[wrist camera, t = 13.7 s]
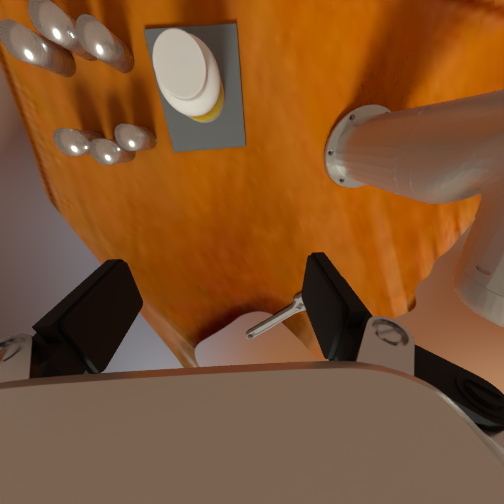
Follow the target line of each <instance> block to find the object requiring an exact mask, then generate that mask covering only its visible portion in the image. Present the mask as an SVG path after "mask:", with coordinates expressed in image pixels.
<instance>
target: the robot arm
mask: <svg viewBox="0 0 504 504" xmlns="http://www.w3.org/2000/svg"><path fill="white" fill-rule="evenodd" d="M350 117H351V119H349V118H350ZM329 151H330V153H329V154H328V152H329ZM324 164H325V169H326V171H327V173H328V175H329V177H330V178H331V179H332V180H333V181H334V182H335V183H337V184H339V185H341V186H344V187H349V188H355V187H360V186H364V185H366V184H367V185H371V186H374V187H377V188H380V189H383V190H386V191H389V192H392V193H395V194H398V195H401V196H404V197H407V198H410V199H413V200H417V201H420V202H424V203H431V204H442V203H450V202H455V201H459V200H463V199H467V198H470V197H473V196H476V195H478V194H481V193H482V195H481V201H480V204H479V207H478V210H477V212H476V215H475V220H474V223H473V225H472V228H471V230H470V232H469V235H468V237H467V240H466V242H465V244H464V247H463V250H462V252H461V254H460V257H459V260H458V262H457V265H456V268H455V271H454V276H453V283H454V288H455V291H456V293H457V294H458V296H459V297H460V299H461V300H462V301H463V302H464V303H465V304H466V305H467V306H468V307H469V308H471V309H472V310H473V311H474V312H476V313H477V314H479V315H481V316H482V317H484V318H486V319H488V320H489V321H491V322H493V323H495V324H497V325H499V326H502V327H504V89H502V90H498V91H494V92H489V93H485V94H480V95H475V96H470V97H465V98H460V99H455V100H451V101H446V102H441V103H436V104H430V105H425V106H420V107H415V108H410V109H405V110H400V111H394V112H391V111H390V110H389V109H388V108H386V107H384V106H381V105H376V104H370V105H365V106H361V107H358V108H356V109H354V110H352V111H350V112H349V113H348V114H346V115H345V116H344V117H343V118H342V119H341V120H340V121H339V122H338V123H337V124H336V125H335V127H334V128H333V130H332V131H331V133H330V135H329V138H328V140H327V143H326V146H325V152H324ZM340 179H341V180H340ZM301 297H302V301H303V304H304V306H305V309H306V311H307V314H308V317H309V319H310V322H311V324H312V327H313V329H314V332H315V335H316V337H317V340H318V342H319V345H320V348H321V350H322V353H323V355H324V357H325V359H329V361H315V362H288V363H270V364H269V363H268V364H251V365H231V366H213V367H196V368H179V369H162V370H146V371H130V372H113V373H101V372H103V371H104V370H105V369H106V367H107V365H108V364H109V362H110V360H111V359H112V357H113V355H114V353H115V352H116V350H117V349H118V347H119V345H120V343H121V342H122V340H123V338H124V337H125V335H126V333H127V332H128V330H129V328H130V327H131V325H132V323H133V322H134V320H135V318H136V316H137V315H138V313H139V311H140V310H141V308H142V306H143V300H142V298H141V295H140V293H139V290H138V288H137V286H136V283H135V281H134V278H133V276H132V274H131V271H130V269H129V266H128V264H127V263H126V262H124V261H123V260H121V259H112V260H107V261H105V262H104V263H103V264H102V265H101V266H100V267H99V268H98V269H97V270H95V271H94V272H93V273H92V274H91V275H90V276H89V277H88V278H86V279H85V280H84V281H83V282H82V283H81V284H80V285H79V286H77V287H76V288H75V289H74V290H73V291H72V292H71V293H70V294H68V295H67V296H66V297H65V298H64V299H63V300H62V301H61V302H60V303H58V304H57V305H56V306H55V307H54V308H53V309H52V310H51V311H50V312H48V313H47V314H46V315H45V316H44V317H43V318H42V319H40V320H39V321H38V322H37V323H36V324H35V325H34V326H33V327H32V328H33V329H34V330H35V331H36V332H37V333H36V334H35V335H34V336H33V337H32V336H31V335H29V334H27V333H26V334H25V333H21V334H16V335H12V336H9V337H6V338H4V339H2V340H0V504H504V394H503V393H502V392H501V391H499V389H497V388H496V387H495V386H493V385H492V384H491V383H489V382H488V381H486V380H484V379H483V378H481V377H479V376H477V375H475V374H473V373H471V372H469V371H467V370H465V369H463V368H461V367H459V366H457V365H455V364H453V363H451V362H449V361H447V360H445V359H443V358H441V357H439V356H437V355H435V354H433V353H431V352H429V351H427V350H425V349H423V348H421V347H419V346H417V345H415V343H414V338H413V336H412V335H411V333H410V332H409V331H408V330H407V329H406V328H405V327H404V326H403V325H402V324H400V323H399V322H397V321H395V320H393V319H391V318H388V317H384V316H372V315H371V313H370V312H369V311H368V309H367V308H366V307H365V305H364V304H363V303H362V301H361V300H360V299H359V297H358V296H357V295H356V294H355V292H354V291H353V290H352V288H351V287H350V286H349V284H348V283H347V282H346V280H345V279H344V278H343V277H342V276H341V275H340V273H339V272H338V271H337V269H336V268H335V267H334V265H333V264H332V263H331V261H330V260H329V259H328V257H327V256H326V255H325V253H323V252H317V253H312V254H311V255H309V256H308V258H307V263H306V269H305V275H304V281H303V287H302V293H301Z"/></svg>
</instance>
